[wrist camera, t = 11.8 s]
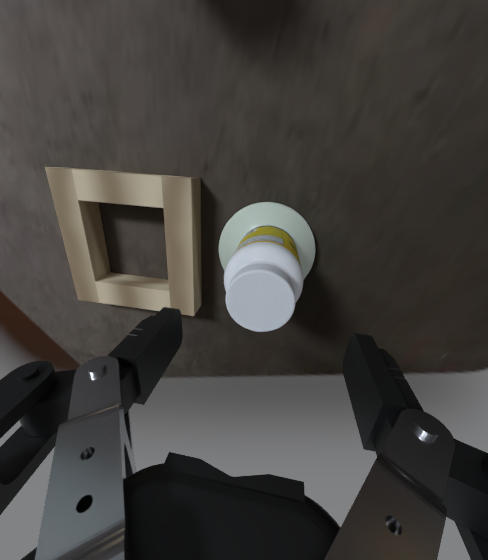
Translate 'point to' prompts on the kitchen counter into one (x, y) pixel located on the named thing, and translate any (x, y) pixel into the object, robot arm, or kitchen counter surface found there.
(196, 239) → the pocket block
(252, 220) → the pale green pebble
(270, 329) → the supplement bottle
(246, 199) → the kitchen counter surface
